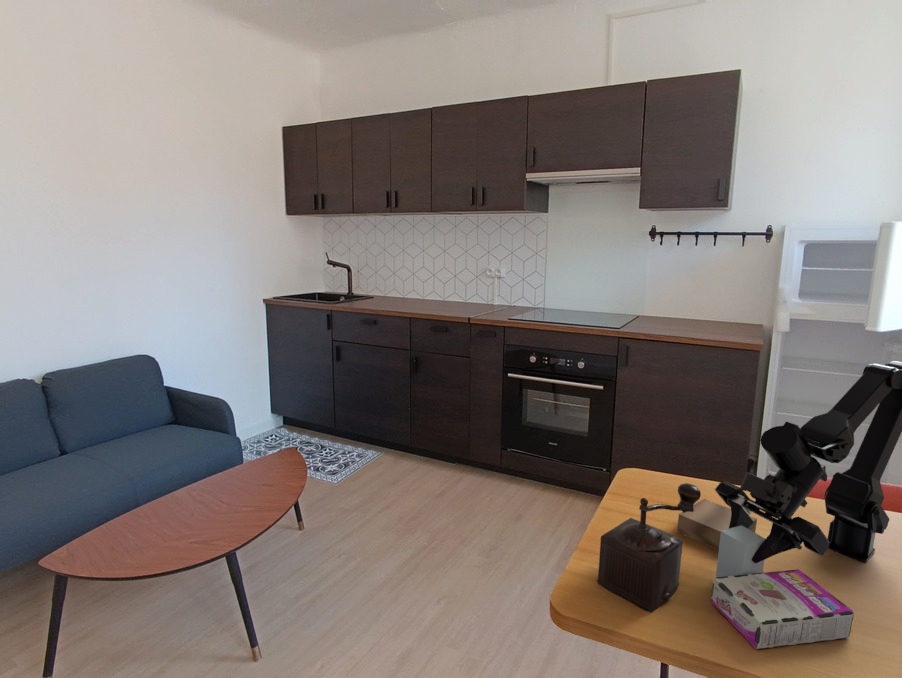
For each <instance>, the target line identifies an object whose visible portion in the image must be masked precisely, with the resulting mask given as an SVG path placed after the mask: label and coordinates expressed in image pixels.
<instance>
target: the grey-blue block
mask: <svg viewBox="0 0 902 678" xmlns="http://www.w3.org/2000/svg"><path fill="white" fill-rule="evenodd" d="M765 539H766V538H765V537H763V536H762V535H759V533H756V532H755V533H754V532H752V531H751V530H749V529H747V528H745V527H744V526H742V525H741V526H737V527H733V528H729V529H726V530H722V531H721V535H720V543H719V550H718V553H717V554H718V555H717V563H716V570H715V571H716V572H715V577H725V576H736V575H745V574H757V573H764V572H763V571H764V566H765V565H764V564H765V560H763V561H760V562H758V563H754V562H753V561H752V558H753V556H754V554H755V552H756V551H757V550H758V548H759V547H760V546H761V545H762V543H763V542H764V541H765Z"/></svg>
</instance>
